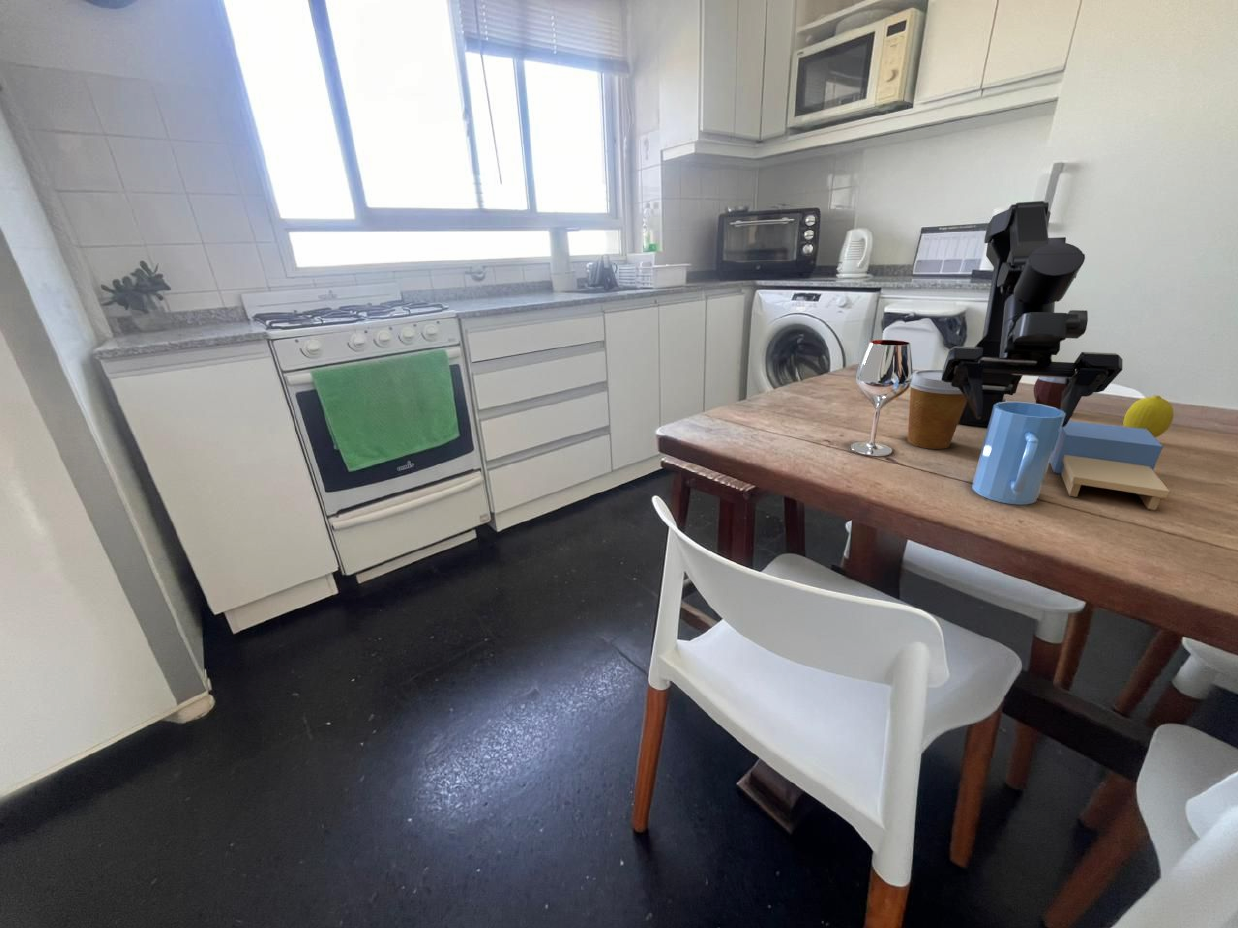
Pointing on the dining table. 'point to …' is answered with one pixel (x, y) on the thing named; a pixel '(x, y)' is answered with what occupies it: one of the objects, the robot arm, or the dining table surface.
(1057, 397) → the mate gourd
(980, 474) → the blue mug
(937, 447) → the disposable coffee cup
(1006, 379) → the robot arm
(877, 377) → the wineglass
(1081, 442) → the blue and wooden stand
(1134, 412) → the lemon
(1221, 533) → the dining table surface
